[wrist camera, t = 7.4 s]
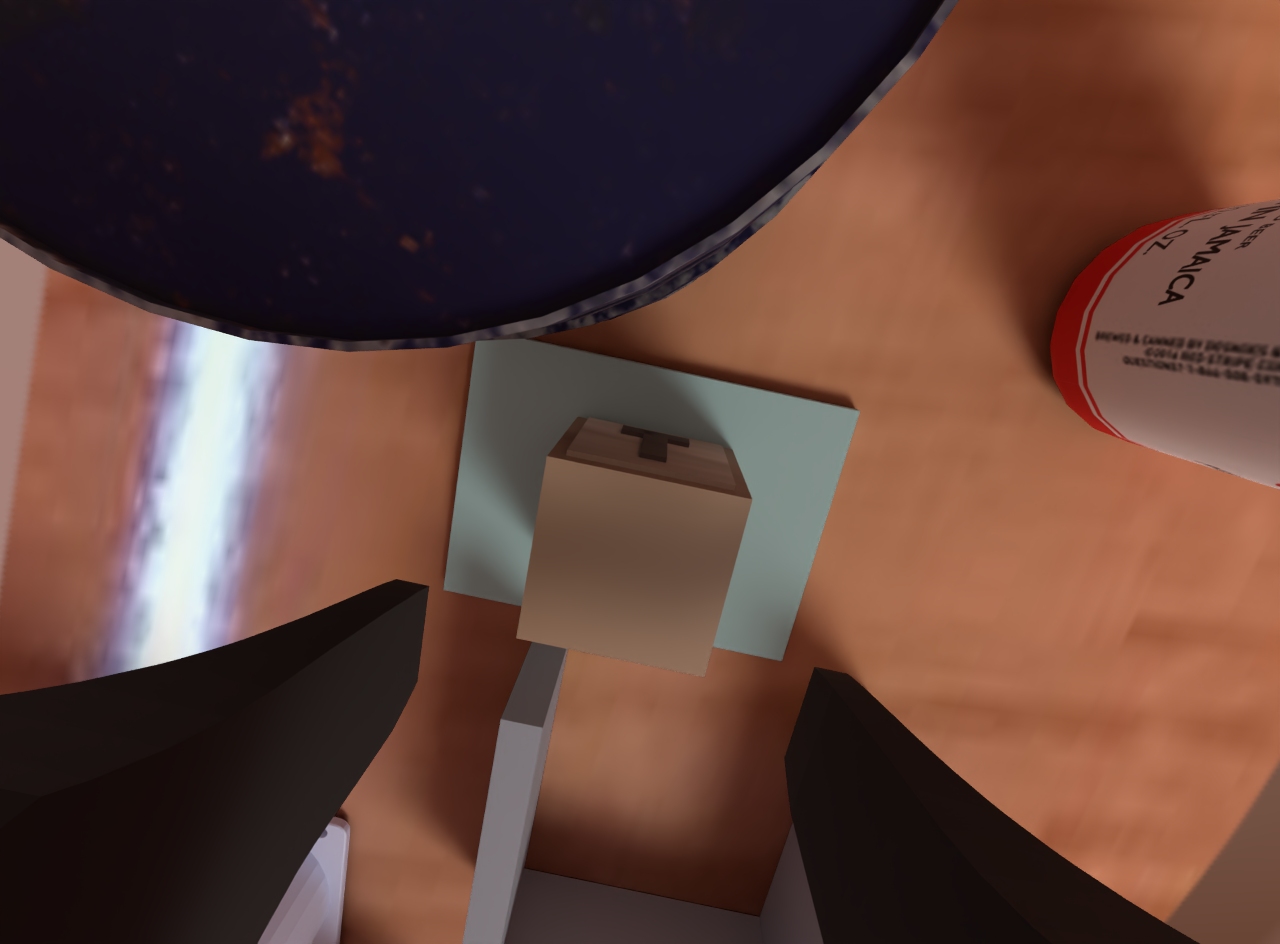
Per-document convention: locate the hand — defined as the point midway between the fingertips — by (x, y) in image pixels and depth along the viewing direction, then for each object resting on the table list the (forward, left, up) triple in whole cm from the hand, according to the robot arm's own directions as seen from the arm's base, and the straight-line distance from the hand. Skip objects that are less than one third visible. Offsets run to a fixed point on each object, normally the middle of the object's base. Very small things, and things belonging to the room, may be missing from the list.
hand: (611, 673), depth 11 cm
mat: (0, 0, -10) cm, 10 cm away
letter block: (0, 0, -9) cm, 9 cm away
